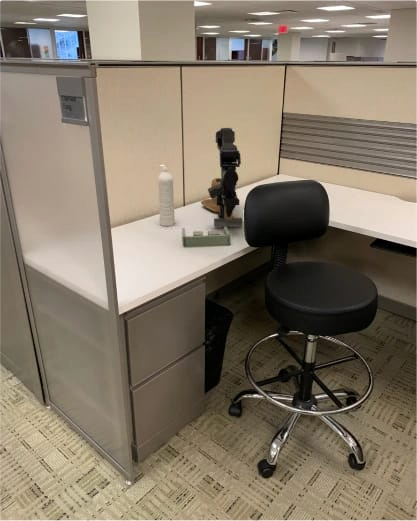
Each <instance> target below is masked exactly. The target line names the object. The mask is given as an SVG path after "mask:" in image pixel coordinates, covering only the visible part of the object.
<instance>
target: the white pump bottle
mask: <svg viewBox="0 0 417 521" xmlns="http://www.w3.org/2000/svg"><path fill="white" fill-rule="evenodd" d="M159 169H161V171H160V174H159V175H158V177H157V188H158V190H157V191H158V205H159V206H158V209H159V224H160V226H163V227H171V226H174V225H175V224H176V222H175V220H176V218H175V198H174V197H175V196H174V177H173V176H172V174H171V173H170V171H169V169H168V167H167V166H166V164H160V165H159Z"/></svg>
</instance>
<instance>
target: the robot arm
mask: <svg viewBox="0 0 417 521" xmlns="http://www.w3.org/2000/svg"><path fill="white" fill-rule="evenodd" d="M235 134H236V132H235V131H234V130H233V128H232V127H222V128H220V130H218V131H216V132H215V143H216V148H217V149H218V151H219V167H220V176H221V177H220V178H221V181H220V185H216V186H214V187H211V186H210V187H209V188H207V191H208V194H209V197H210V199H212V198H214V197H216V204H217V206H219V212H218V214H217V218H224V205H225V206H226V212H227V217H230V216H231V214H232V218H234V216H233V212H234V209H235V208H236V207H237V206H240V199H239V197H238V195H237V192H236V189H237V188H236V187H237V183H238V181H239V175H238V174H239V173H238V172H237V168H240V165H242V160H241V152H240V150H238V147H237V145H236V144H234V143H235V141H236V140H235V139H236V136H235ZM218 201H219V202H218Z"/></svg>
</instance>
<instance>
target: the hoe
mask: <svg viewBox="0 0 417 521" xmlns="http://www.w3.org/2000/svg"><path fill="white" fill-rule="evenodd" d="M232 216H233V213H232V214H231V216H230V217H227V212H226V206H225V205H224V218H219V217H217V218H215V217H214V218H213V226H214V228H221V227H222V228H224V227H227V228H228V227H243V217H233V218H232Z"/></svg>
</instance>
